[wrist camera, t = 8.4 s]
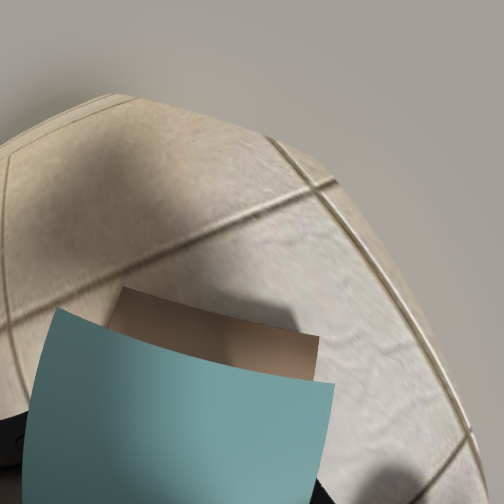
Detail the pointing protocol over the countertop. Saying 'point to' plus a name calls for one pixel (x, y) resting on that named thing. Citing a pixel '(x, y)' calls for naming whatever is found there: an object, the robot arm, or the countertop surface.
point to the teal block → (164, 426)
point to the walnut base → (215, 336)
